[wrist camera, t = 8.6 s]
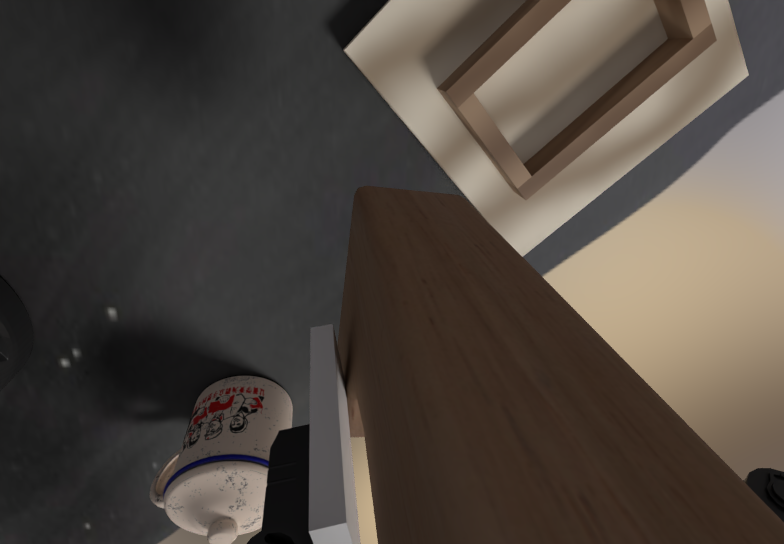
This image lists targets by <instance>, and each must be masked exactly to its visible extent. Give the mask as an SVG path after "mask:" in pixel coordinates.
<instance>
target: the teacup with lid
mask: <svg viewBox="0 0 784 544" xmlns="http://www.w3.org/2000/svg"><path fill="white" fill-rule="evenodd" d="M292 412H293V407H292V402H291V399H290V397H289V395H288V394H287V392H286V391H285V390H284V389H283V388H282V387H280V386H279V385H278V384H276V383H274V382H272V381H270V380H268V379H265V378H261V377H256V376H234V377H229V378H225V379H222V380H220V381H217V382H215V383H213V384H212V385H210V386H209V387H207V388H206V389H205V390H204V391H203V392H202V393H201V395H200V396H199V397H198V399H197V401H196V404H195V407H194V410H193V413H192V416H191V419H190V423H189V426H188V429H187V432H186V435H185V438H184V441H183V444H182V447H181V449H180V450H179V451H177V452H176V453H175V454H173V455H172V456H171V457H170V458H169V459H168V460H167V461H166V462H165V464H164V465H163V466H162V468H161V469H160V470H159V472H158V473H157V475H156V477H155V479H154V481H153V483H152V486H151V489H150V499H151V501H152V502H153V503H154V504H155V505H157V506H158V507H161V508H165V511H166V513H167V515H168V517H169V518H170V519H171V520H172V521H173V522H174V523H175V524H176V525H178V526H179V527H181V528H183V529H185V530H187V531H190V532H192V533H196V534H200V535H206V536H207V540H208V541H209V543H210V544H231V543H232V542H233V541H234V540H235V539H236V537H237V535H240V534H245V533H249V532H252V531H255V530H257V529H259V528H262V521H263V511H264V502H265V492H266V487H267V474H268V470H269V469H268V464H269V455H270V448H271V446H272V444H273V442H274V440H275V438H276V436H277V434H278V432H279V430H284V429H289V428H292Z"/></svg>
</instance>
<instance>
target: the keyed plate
mask: <svg viewBox="0 0 784 544" xmlns="http://www.w3.org/2000/svg"><path fill="white" fill-rule="evenodd" d="M343 51H344V52H345V53H346V55H347V56H348V57H349V58H350V59H351V60H352V62H353V63H354V64H355V65H356V66H357V68H358V69H359V70H360V71H361V72H362V74H363V75H364V76H365V77H366V78H367V80H368V81H369V82H370V83H371V84H372V86H373V87H374V88H375V89H376V90H377V92H378V93H379V94H380V95H381V96H382V97H383V99H384V100H385V101H386V102H387V103H388V105H389V106H390V107H391V108H392V109H393V111H394V112H395V113H396V114H397V115H398V117H399V118H400V119H401V120H402V121H403V123H404V124H405V125H406V126H407V127H408V128H409V130H410V131H411V132H412V133H413V134H414V136H415V137H416V138H417V139H418V140H419V142H420V143H421V144H422V145H423V146H424V148H425V149H426V150H427V151H428V152H429V154H430V155H431V156H432V157H433V158H434V160H435V161H436V162H437V163H438V164H439V165H440V167H441V168H442V169H443V170H444V171H445V173H446V174H447V175H448V176H449V177H450V179H451V180H452V181H453V182H454V183H455V185H456V186H457V187H458V188H459V189H460V191H461V192H462V193H463V194H464V195H465V196H466V198H467V199H468V200H469V201H470V202H471V204H472V205H473V206H474V207H475V208H476V210H477V211H478V212H479V213H480V214H481V215H482V216H483V217H484V218H485V219H486V220H487V222H488V223H489V224H490V225H491V226H492V227H493V228H494V229H495V230H496V231H497V232H498V233H499V234H500V235H501V236H502V237H503V238H504V239H505V240H506V241H507V242H508V243H509V244H510V245H511V246H512V247H513V248H514V249H515V250H516V251H517V252H518V253H519V254H520V255H521V256H522V257H523V256H524V255H525V254H526V253H528V252H529V251H530V250H531V249H533V248H534V247H535V246H536V245H538V244H539V243H540V242H541V241H543V240H544V239H545V238H546V237H548V236H549V235H550V234H551V233H553V232H554V231H555V230H556V229H558V228H559V227H560V226H561V225H563V224H564V223H565V222H566V221H568V220H569V219H570V218H571V217H573V216H574V215H575V214H576V213H578V212H579V211H580V210H581V209H583V208H584V207H585V206H586V205H588V204H589V203H590V202H591V201H592V200H594V199H595V198H596V197H597V196H599V195H600V194H601V193H602V192H604V191H605V190H606V189H607V188H609V187H610V186H611V185H612V184H614V183H615V182H616V181H617V180H619V179H620V178H621V177H622V176H624V175H625V174H626V173H627V172H629V171H630V170H631V169H632V168H634V167H635V166H636V165H637V164H639V163H640V162H641V161H642V160H644V159H645V158H646V157H647V156H649V155H650V154H651V153H652V152H654V151H655V150H656V149H657V148H659V147H660V146H661V145H662V144H664V143H665V142H666V141H667V140H668V139H670V138H671V137H672V136H673V135H675V134H676V133H677V132H678V131H680V130H681V129H682V128H683V127H685V126H686V125H687V124H688V123H690V122H691V121H692V120H693V119H695V118H696V117H697V116H698V115H700V114H701V113H702V112H703V111H705V110H706V109H707V108H708V107H710V106H711V105H712V104H713V103H715V102H716V101H717V100H718V99H720V98H721V97H722V96H723V95H725V94H726V93H727V92H728V91H730V90H731V89H732V88H733V87H735V86H736V85H737V84H738V83H740V82H741V81H742V80H743V79H744V78H746V77H747V76H748V75H749V74H748V71H747V67H746V63H745V60H744V56H743V52H742V49H741V45H740V42H739V38H738V34H737V31H736V27H735V24H734V20H733V16H732V13H731V9H730V5H729V2H728V0H388V1H387V2H386V3H385V5H384V6H383V7H382V8H381V9H380V10H379V11H378V12H377V13H376V14H375V15H374V16H373V18H372V19H371V20H370V21H369V22H368V23H367V24H366V25H365V26H364V27H363V28H362V29H361V31H360V32H359V33H358V34H357V35H356V36H355V37H354V38H353V39H352V40H351V41H350V43H349V44H348V45H347V46H346V47H345V48H344V49H343Z"/></svg>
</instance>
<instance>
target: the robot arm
mask: <svg viewBox="0 0 784 544" xmlns="http://www.w3.org/2000/svg"><path fill="white" fill-rule="evenodd" d="M32 346H33V329H32V324H31V320H30V318H29V315H28V313H27V311H26V309H25V307H24V305H23V303H22V302H21V300H20V299H19V297H18V296H17V295H16V293H15V292H14V291H13V290H12V288H11V287H10V286H9V285H8V284H7V283H6V282H5V281H4V280H3V279H2V278H1V277H0V391H1V390H2V389H3V388H4V387H5V386H6V385H7V384H8V383H9V382H10V381H11V379H12V378H13V377H14V376H15V375H16V374H17V373H18V372H19V371H20V369H21V368H22V367H23V366H24V365H25V363H26V362H27V360H28V358H29V356H30V354H31V351H32ZM268 469H269V470H268V474H267V487H266V492H265V502H264V511H263V521H262V531H261V532H259V533H258V534H256V535H255V536H254V537H252V538H251V539H250V540H249V541H248V543H247V544H360V534H359V524H358V514H357V503H356V493H355V481H354V471H353V460H352V450H351V440H350V428H349V417H348V407H347V397H346V388H345V378H344V374H343V369H342V364H341V360H340V355H339V351H338V346H337V341H336V337H335V332H334V328H333V324H330V325H324V326H319V327H313V328H311V332H310V424H309V425H304V426H299V427H294V428H289V429H284V430H279V432H278V434H277V436H276V438H275V440H274V442H273V444H272V446H271V448H270V455H269V464H268ZM744 482H745V483H746V484H747V485H748V486H749V487H750V488H751V489H752V490H753V492H754V493H755V494H756V495H757V496H758V497H759V498H760V499H761V500H762V501H763V502H764V503H765V504H766V505H767V506H768V507H769V508H770V509H771V510H772V511H773V512H774V513H775V514H776V515H777V516H778V517H779V518H780V519H781V520H782V521H783V522H784V472H781V471H778V470H774V469H771V468H758V469H756V470H754V471H752V472H750V473H749V474H748V476H747V478H746V479H745V480H744Z"/></svg>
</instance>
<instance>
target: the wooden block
mask: <svg viewBox="0 0 784 544" xmlns="http://www.w3.org/2000/svg"><path fill="white" fill-rule="evenodd" d="M338 351H339V355H340V360H341V364H342V369H343V374H344V378H345V388H346V397H347V407H348V417H349V428H350V437H365V443H366V451H367V459H368V466H369V475H370V482H371V490H372V497H373V506H374V514H375V522H376V530H377V538H378V544H784V522H783V521H782V520H781V519H780V518H779V517H778V516H777V515H776V514H775V513H774V512H773V511H772V510H771V509H770V508H769V507H768V506H767V505H766V504H765V503H764V502H763V501H762V500H761V499H760V498H759V497H758V496H757V495H756V494H755V493H754V492H753V490H752V489H751V488H750V487H749V486H748V485H747V484H746V483H745V482H744V481H743V480H742V479H741V478H740V477H739V476H738V475H737V474H736V473H735V472H734V471H733V470H732V469H731V468H730V467H729V466H728V465H727V464H726V463H725V462H724V461H723V460H722V459H721V458H720V457H719V456H718V455H717V454H716V453H715V452H714V451H713V450H712V449H711V448H710V447H709V446H708V445H707V444H706V443H705V442H704V441H703V440H702V439H701V438H700V437H699V436H698V435H697V434H696V433H695V432H694V431H693V430H692V429H691V428H690V427H689V426H688V425H687V424H686V423H685V421H684V420H683V419H682V418H681V417H680V416H679V415H678V414H676V412H675V411H674V410H673V409H672V408H671V407H670V406H669V405H668V404H667V403H666V402H665V401H664V400H663V399H662V398H661V397H660V396H659V395H658V394H657V393H656V392H655V391H654V390H653V389H652V388H651V387H650V386H649V385H648V384H647V383H646V382H645V381H644V380H643V379H642V378H641V377H640V376H639V375H638V374H637V373H636V372H635V371H634V370H633V369H632V368H631V367H630V366H629V365H628V364H627V363H626V362H625V361H624V360H623V359H622V358H621V357H620V356H619V355H618V354H617V353H616V352H615V351H614V349H612V347H611V346H610V345H609V344H608V343H607V342H606V341H605V340H604V339H603V338H602V337H601V336H600V335H599V334H598V333H597V332H596V331H595V330H594V329H593V328H592V327H591V326H590V325H589V324H588V323H587V322H586V321H585V320H584V319H583V318H582V317H581V316H580V315H579V314H578V313H577V312H576V311H575V310H574V309H573V308H572V307H571V306H570V305H569V304H568V303H567V302H566V301H565V300H564V299H563V298H562V297H561V296H560V295H559V294H558V293H557V292H556V291H555V289H554V288H553V287H552V286H550V285H549V283H547V281H546V280H544V278H543V277H542V276H541V275H540V274H539V273H538V272H537V271H536V270H535V269H534V268H533V267H532V266H531V265H530V264H529V263H528V262H527V261H526V260H525V259H524V258H523V257H522V256H521V255H520V254H519V253H518V252H517V251H516V250H515V249H514V248H513V247H512V246H511V245H510V244H509V243H508V242H507V241H506V240H505V239H504V238H503V237H502V236H501V235H500V234H499V233H498V232H497V231H496V230H495V229H494V228H493V227H492V226H491V225H490V224H489V223H488V222H487V220H486V219H485V218H484V217H483V216H482V215H481V214H480V213H479V212H478V211H477V210H476V209H475V208H474V207H473V206H472V205H471V204H470V203H469V202H468V201H467V200H466V199H465V198H463V197H461V196H459V195H452V194H442V193H432V192H422V191H412V190H403V189H393V188H383V187H373V186H364V187H360V188H358V189H357V191H356V193H355V195H354V202H353V211H352V220H351V229H350V238H349V247H348V256H347V265H346V274H345V283H344V292H343V301H342V310H341V319H340V328H339V337H338Z"/></svg>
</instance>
